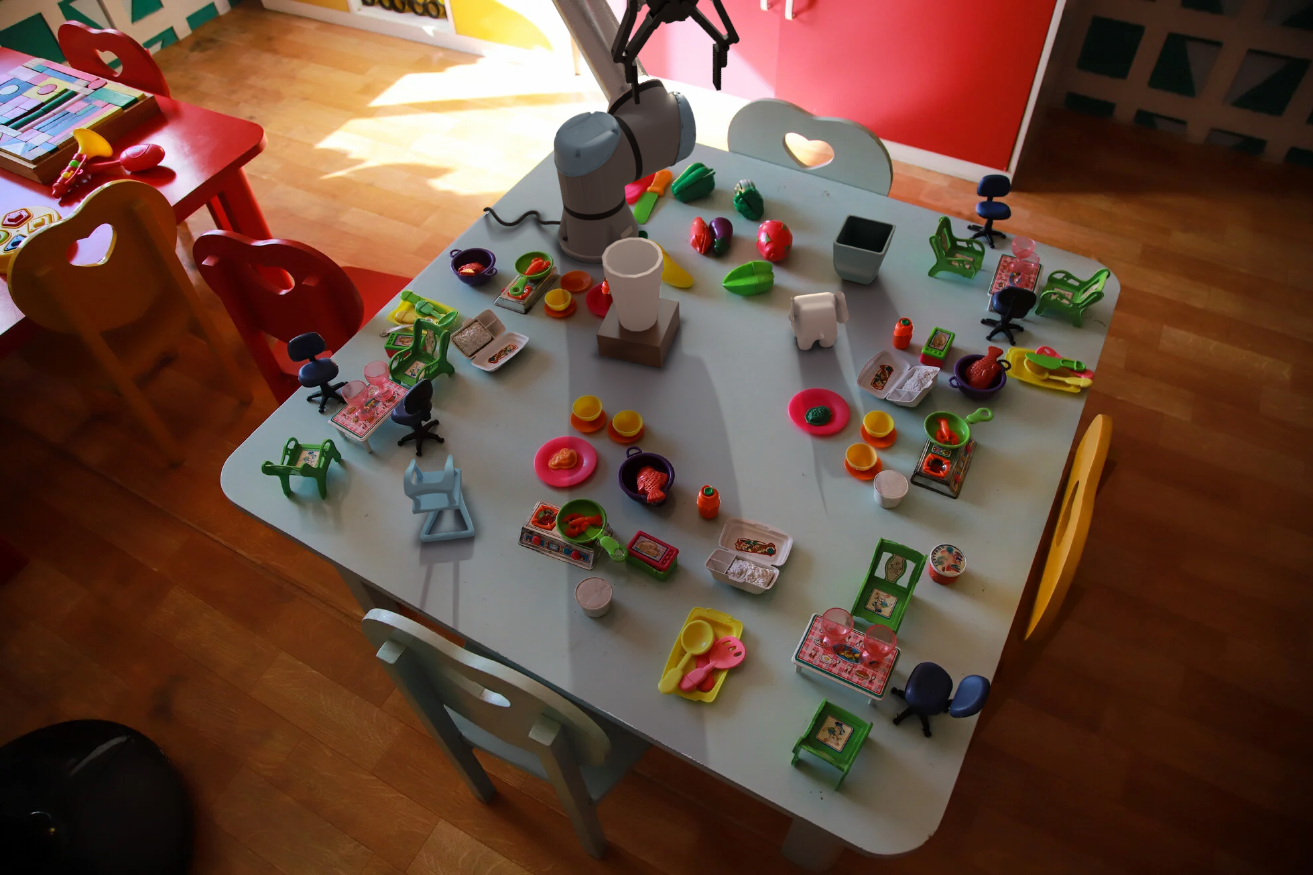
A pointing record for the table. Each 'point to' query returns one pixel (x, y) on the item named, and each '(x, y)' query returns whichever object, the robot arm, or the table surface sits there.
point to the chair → (437, 497)
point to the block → (639, 336)
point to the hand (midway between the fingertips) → (676, 93)
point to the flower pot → (861, 248)
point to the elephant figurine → (817, 318)
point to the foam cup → (634, 281)
